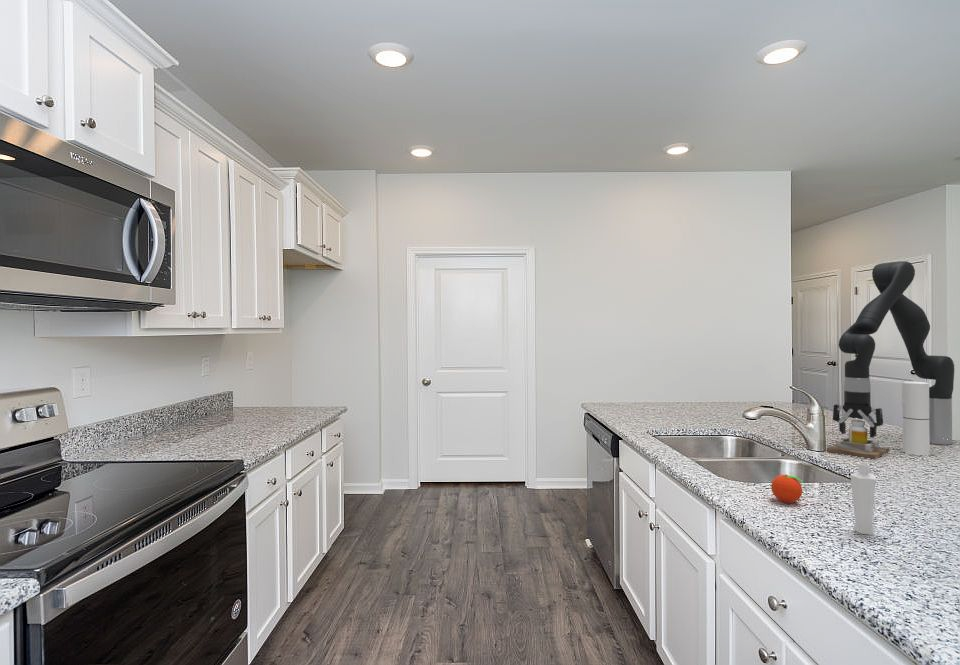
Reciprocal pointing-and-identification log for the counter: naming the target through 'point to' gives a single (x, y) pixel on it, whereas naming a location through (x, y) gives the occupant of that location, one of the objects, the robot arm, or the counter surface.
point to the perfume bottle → (863, 499)
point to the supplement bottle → (858, 432)
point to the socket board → (858, 449)
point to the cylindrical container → (915, 418)
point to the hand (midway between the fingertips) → (857, 435)
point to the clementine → (787, 488)
